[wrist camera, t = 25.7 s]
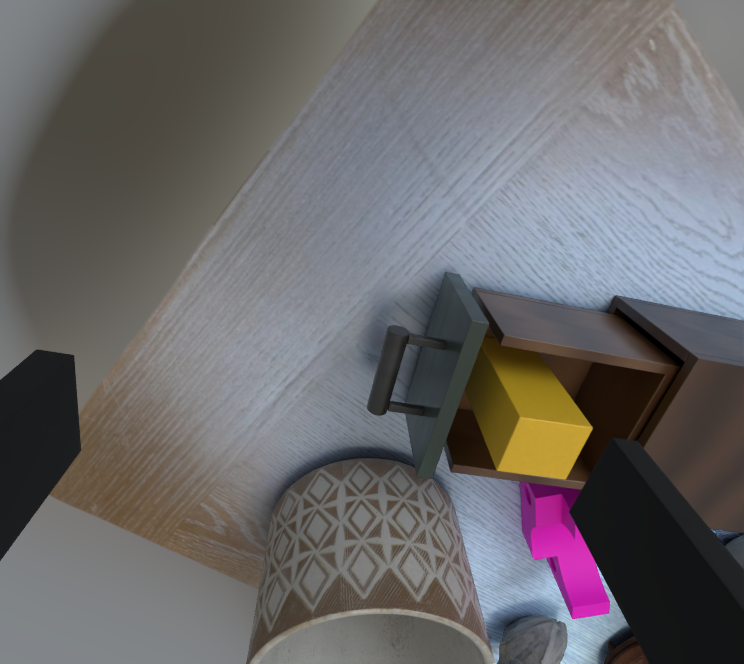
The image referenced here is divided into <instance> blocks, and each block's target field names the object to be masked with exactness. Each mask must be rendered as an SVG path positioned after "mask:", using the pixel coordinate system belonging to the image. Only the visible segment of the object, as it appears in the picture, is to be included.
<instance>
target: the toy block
mask: <svg viewBox="0 0 744 664" xmlns="http://www.w3.org/2000/svg"><path fill="white" fill-rule="evenodd" d="M520 484H521V506H522V528H523V534H524V537H525V539H526V542H527V544H528V547H529V549H530V552H531V554H532V557H533V559H534V560H537V559H543V558H546V559H547V561H548V563H549V566H550V568H551V570H552V573H553V575H554V577H555V580H556V582H557V584H558V587H559V589H560V591H561V594H562V596H563V598H564V601H565V603H566V605H567V608H568V610H569V612H570V615H571V617H572V619H577V618H584V617H590V616H596V615H602V614H609V606H610V601H609V599H608V596H607V594H606V592H605V589H604V587H603V584H602V582H601V579H600V576H599V573H598V570H597V566H596V563H595V560H594V558H593V556H592V554H591V553H590V551H589V549H588V547H587V545H586V543H585V541H584V539H583V537H582V536H581V534H580V532H579V530H578V528H577V526H576V524H575V522H574V520H573V519H572V517H571V515H570V513H569V511H570V509H571V507H572V505H573V504H574V502H575V500H576V498H577V497H578V495H579V493H580V491H581V489H573V488H566V487H558V486H551V485H543V484H536V483H529V482H521V481H520Z"/></svg>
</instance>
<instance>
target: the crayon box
mask: <svg viewBox="0 0 744 664" xmlns="http://www.w3.org/2000/svg"><path fill="white" fill-rule="evenodd" d="M465 392H466V394H467V397H468V399H469V402H470V404H471V407H472V409H473V412H474V414H475V417H476V419H477V422H478V425H479V427H480V430H481V432H482V435H483V437H484V440H485V442H486V445H487V447H488V450H489V452H490V455H491V457H492V460H493V462H494V465H495V467H496V470H497V471H503V472H511V473H518V474H526V475H534V476H542V477H549V478H557V479H566V478H567V476H568V474H569V472H570V471H571V469H572V467H573V465H574V463H575V461H576V459H577V457H578V455H579V454H580V452H581V450H582V448H583V446H584V444H585V442H586V440H587V439H588V437H589V435H590V433H591V431H592V429H593V427H592V426H591V425H590V423H589V422H588V420H587V419H586V418H585V416H584V415H583V414H582V412H581V411H580V409H579V408H578V407H577V405H576V404H575V403H574V401H573V400H572V398H571V397H570V396H569V394H568V393H567V392H566V390H565V389H564V387H563V386H562V385H561V383H560V382H559V381H558V379H557V378H556V377H555V375H554V374H553V372H552V371H551V370H550V368H549V367H548V366H547V364H546V363H545V361H544V360H543V359H542V357H541V356H540V355H539V353H538V352H535V351H530V350H524V349H518V348H513V347H507V346H501V345H500V344H499V342H498V341H497V339H496V338H491V337H485V336H484V339H483V342H482V344H481V347H480V350H479V352H478V355H477V358H476V361H475V363H474V366H473V369H472V371H471V374H470V377H469V379H468V382H467V385H466V388H465Z"/></svg>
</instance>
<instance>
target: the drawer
mask: <svg viewBox="0 0 744 664" xmlns="http://www.w3.org/2000/svg"><path fill="white" fill-rule="evenodd" d="M484 336H485V337H491V338H496V339H497V341H498V342H499V344H500V345H501V346H507V347H513V348H518V349H524V350H530V351H535V352H538V353H539V355H540V356H541V357H542V359H543V360H544V361H545V363H546V364H547V366H548V367H549V368H550V370H551V371H552V372H553V374H554V375H555V377H556V378H557V379H558V381H559V382H560V383H561V385H562V386H563V387H564V389H565V390H566V392H567V393H568V394H569V396H570V397H571V398H572V400H573V401H574V403H575V404H576V405H577V407H578V408H579V409H580V411H581V412H582V414H583V415H584V416H585V418H586V419H587V420H588V422H589V423H590V425H591V426H592V427H593V429H592V431H591V433H590V435H589V437H588V439H587V440H586V442H585V444H584V446H583V448H582V450H581V452H580V454H579V455H578V457H577V459H576V461H575V463H574V465H573V467H572V469H571V471H570V472H569V474H568V476H567V478H566V479H557V478H549V477H542V476H534V475H526V474H518V473H511V472H503V471H497V470H496V467H495V465H494V462H493V460H492V457H491V455H490V452H489V450H488V447H487V445H486V442H485V440H484V437H483V435H482V432H481V430H480V427H479V425H478V422H477V419H476V417H475V414H474V412H473V409H472V407H471V404H470V402H469V399H468V397H467V394H466V392H465V388H466V385H467V382H468V379H469V377H470V374H471V371H472V369H473V366H474V363H475V361H476V358H477V355H478V352H479V350H480V347H481V344H482V342H483V339H484ZM406 344H412V345H417V346H422V350H421V353H420V356H419V359H418V363H417V366H416V369H415V372H414V376H413V379H412V382H411V386H410V389H409V392H408V395H407V399H406V402H405V403H402V402H395V401H390V399H391V396H392V392H393V389H394V385H395V382H396V378H397V375H398V371H399V368H400V365H401V361H402V358H403V354H404V351H405V347H406ZM680 368H681V366H679V365H678V364H677V363H676V362H675V361H673V360H672V359H671V358H670V357H669V356H667V355H666V354H665V353H664V352H663V351H661V350H660V349H659V348H658V347H656V346H655V345H654V344H653V343H652V342H650V341H649V340H648V339H647V338H646V337H644V336H643V335H642V334H641V333H640V332H638V331H637V330H636V329H635V328H634V327H632V326H631V325H630V324H629V323H628V322H626V321H625V320H624V319H622V318H621V317H620V316H619V315H614V314H609V313H604V312H598V311H593V310H588V309H583V308H578V307H573V306H568V305H562V304H557V303H552V302H547V301H542V300H537V299H531V298H526V297H521V296H516V295H511V294H506V293H501V292H495V291H490V290H485V289H480V288H475V287H474V288H473V290H472V293H470V291H469V289H468V288H467V286H466V285H465V283H464V281H463V280H462V278H461V276H460V275H459V274H454V273H449V272H445V275H444V278H443V281H442V285H441V288H440V291H439V294H438V298H437V301H436V304H435V307H434V311H433V314H432V317H431V320H430V324H429V327H428V330H427V333H426V336H421V335H416V334H410V333H409V331H408V330H407V329H405V328H403V327H400V326H395V325H392V326H389V327H388V328H387V332H386V336H385V340H384V343H383V347H382V351H381V355H380V359H379V362H378V366H377V370H376V374H375V378H374V381H373V385H372V389H371V393H370V397H369V400H368V404H367V409H368V411H369V412H370V413H372V414H374V415H384V414H386V412H387V410H388V411H392V412H399V413H405V415H406V421H407V426H408V431H409V437H410V442H411V448H412V453H413V459H414V464H415V470H416V475H417V477H422V478H429V479H432V476H433V474H434V471H435V468H436V466H437V463H438V460H439V458H440V455H441V452H442V450H443V447H444V449H445V453H446V457H447V460H448V464H449V468H450V471H451V472H454V473H461V474H469V475H476V476H484V477H491V478H499V479H506V480H514V481H521V482H529V483H536V484H543V485H551V486H558V487H566V488H573V489H581V490H582V488H583V486H584V484H585V483H586V481H587V479H588V477H589V476H590V474H591V472H592V470H593V469H594V467H595V465H596V463H597V462H598V460H599V458H600V456H601V455H602V453H603V451H604V449H605V448H606V446H607V444H608V442H609V441H610V439H611V437H613V438H619V439H626V440H632V441H637V439H638V438H639V436H640V434H641V433H642V431H643V429H644V428H645V426H646V424H647V423H648V421H649V419H650V418H651V416H652V414H653V413H654V411H655V410H656V408H657V406H658V405H659V403H660V401H661V400H662V398H663V396H664V395H665V393H666V391H667V390H668V388H669V386H670V385H671V383H672V381H673V380H674V378H675V376H676V375H677V373H678V372H679V370H680Z"/></svg>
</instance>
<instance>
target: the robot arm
mask: <svg viewBox="0 0 744 664" xmlns="http://www.w3.org/2000/svg"><path fill="white" fill-rule="evenodd" d="M80 451H81V443H80V429H79V416H78V403H77V389H76V376H75V362H74V355H69V354H63V353H56V352H49V351H43V350H35V351H34V352H33V353H32V354H31V355H29V356H28V357H27V358H26V359H25V360H24V361H22V362H21V363H20V364H19V365H18V366H16V367H15V368H14V369H13V370H12V371H11V372H9V373H8V374H7V375H6V376H5V377H3V378H2V379H1V380H0V561H1V559H2V558H3V556H4V555H5V554H6V552H7V551H8V550H9V548H10V547H11V546H12V544H13V543H14V541H15V540H16V539H17V537H18V536H19V535H20V533H21V532H22V530H23V529H24V528H25V526H26V525H27V524H28V522H29V521H30V519H31V518H32V517H33V515H34V514H35V513H36V511H37V510H38V509H39V507H40V506H41V504H42V503H43V502H44V500H45V499H46V498H47V496H48V495H49V494H50V492H51V491H52V489H53V488H54V487H55V485H56V484H57V483H58V481H59V480H60V479H61V477H62V476H63V474H64V473H65V472H66V470H67V469H68V468H69V466H70V465H71V463H72V462H73V461H74V459H75V458H76V457H77V455H78V454H79V453H80ZM569 513H570V515H571V517H572V519H573V520H574V522H575V524H576V526H577V528H578V530H579V532H580V534H581V536H582V537H583V539H584V541H585V543H586V545H587V547H588V549H589V551H590V553H591V554H592V556H593V558H594V560H595V562H596V564H597V566H598V568H599V570H600V572H601V573H602V575H603V577H604V579H605V581H606V583H607V585H608V587H609V589H610V590H611V592H612V594H613V596H614V598H615V600H616V602H617V604H618V606H619V608H620V609H621V611H622V613H623V615H624V617H625V619H626V621H627V623H628V625H629V626H630V628H631V630H632V632H633V634H634V636H635V638H636V640H637V642H638V644H639V645H640V647H641V649H642V651H643V653H644V655H645V657H646V659H647V661H648V662H649V664H744V569H743V568H742V567H741V565H740V564H739V563H738V562H737V561H736V559H735V558H734V557H733V556H732V555H731V553H730V552H729V551H728V550H727V548H726V547H725V546H724V545H723V544H722V542H721V541H720V540H719V539H718V538H717V536H716V535H715V534H714V533H713V532H712V530H711V529H710V528H709V527H708V526H707V524H706V523H705V522H704V521H703V520H702V518H701V517H700V516H699V515H698V513H697V512H696V511H695V510H694V509H693V507H692V506H691V505H690V504H689V503H688V501H687V500H686V499H685V498H684V497H683V495H682V494H681V493H680V492H679V491H678V489H677V488H676V487H675V486H674V485H673V483H672V482H671V481H670V480H669V478H668V477H667V476H666V475H665V474H664V472H663V471H662V470H661V469H660V468H659V466H658V465H657V464H656V463H655V462H654V460H653V459H652V458H651V457H650V456H649V454H648V453H647V452H646V451H645V450H644V448H643V447H642V446H641V445H640V443H639V442H638V441H632V440H626V439H619V438H613V437H611V439H610V441H609V442H608V444H607V446H606V448H605V449H604V451H603V453H602V455H601V456H600V458H599V460H598V462H597V463H596V465H595V467H594V469H593V470H592V472H591V474H590V476H589V477H588V479H587V481H586V483H585V484H584V486H583V488H582V490H581V491H580V493H579V495H578V497H577V498H576V500H575V502H574V504H573V505H572V507H571V509H570V511H569Z"/></svg>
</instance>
